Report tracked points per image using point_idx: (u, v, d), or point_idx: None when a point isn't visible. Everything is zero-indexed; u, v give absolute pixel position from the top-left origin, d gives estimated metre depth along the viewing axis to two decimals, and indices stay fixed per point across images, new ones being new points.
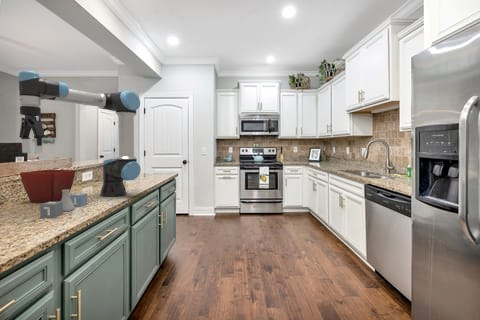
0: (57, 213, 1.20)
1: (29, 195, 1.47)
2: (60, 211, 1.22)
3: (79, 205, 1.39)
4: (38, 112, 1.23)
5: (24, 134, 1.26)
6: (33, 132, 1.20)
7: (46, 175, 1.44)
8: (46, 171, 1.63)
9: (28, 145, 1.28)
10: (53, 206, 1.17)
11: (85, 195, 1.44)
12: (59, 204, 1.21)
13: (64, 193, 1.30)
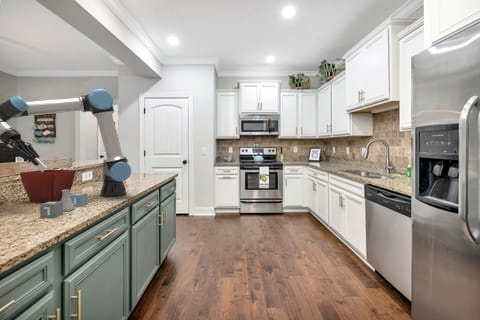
0: (57, 213, 1.20)
1: (29, 195, 1.47)
2: (60, 211, 1.22)
3: (79, 205, 1.39)
4: (9, 135, 1.25)
5: None
6: None
7: (46, 175, 1.44)
8: (46, 171, 1.63)
9: None
10: (53, 206, 1.17)
11: (85, 195, 1.44)
12: (59, 204, 1.21)
13: (64, 193, 1.30)
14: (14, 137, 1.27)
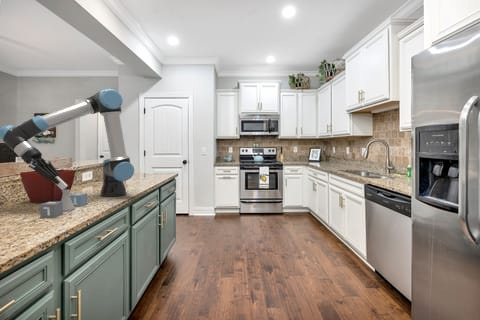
0: (57, 213, 1.20)
1: (29, 195, 1.47)
2: (60, 211, 1.22)
3: (79, 205, 1.39)
4: (30, 154, 1.26)
5: None
6: None
7: None
8: None
9: None
10: (53, 206, 1.17)
11: (85, 195, 1.44)
12: (59, 204, 1.21)
13: (64, 193, 1.30)
14: (36, 156, 1.29)
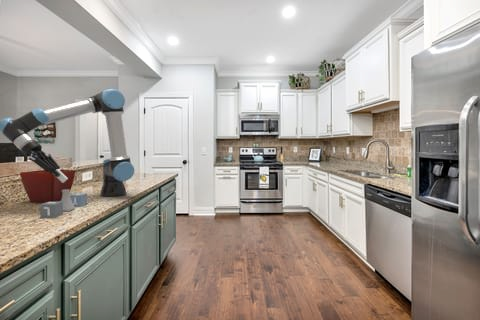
0: (57, 213, 1.20)
1: (29, 195, 1.47)
2: (60, 211, 1.22)
3: (79, 205, 1.39)
4: (30, 147, 1.26)
5: None
6: None
7: (46, 175, 1.44)
8: None
9: None
10: (53, 206, 1.17)
11: (85, 195, 1.44)
12: (59, 204, 1.21)
13: (64, 193, 1.30)
14: (36, 149, 1.29)
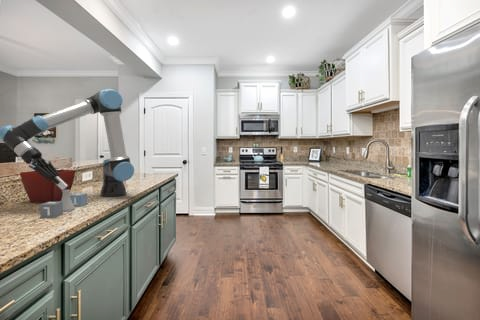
0: (57, 213, 1.20)
1: (29, 195, 1.47)
2: (60, 211, 1.22)
3: (79, 205, 1.39)
4: (30, 154, 1.26)
5: None
6: None
7: None
8: None
9: None
10: (53, 206, 1.17)
11: (85, 195, 1.44)
12: (59, 204, 1.21)
13: (64, 193, 1.30)
14: (36, 156, 1.29)
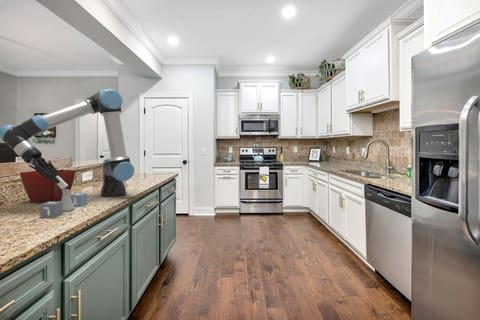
0: (57, 213, 1.20)
1: (29, 195, 1.47)
2: (60, 211, 1.22)
3: (79, 205, 1.39)
4: (30, 154, 1.26)
5: None
6: None
7: None
8: None
9: None
10: (53, 206, 1.17)
11: (85, 195, 1.44)
12: (59, 204, 1.21)
13: (64, 193, 1.30)
14: (36, 156, 1.29)
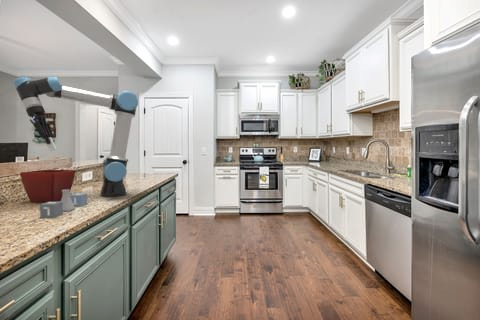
0: (57, 213, 1.20)
1: (29, 195, 1.47)
2: (60, 211, 1.22)
3: (79, 205, 1.39)
4: (35, 110, 1.37)
5: None
6: None
7: (46, 175, 1.44)
8: (46, 171, 1.63)
9: None
10: (52, 206, 1.17)
11: (85, 195, 1.44)
12: (59, 204, 1.21)
13: (64, 193, 1.30)
14: (39, 113, 1.40)
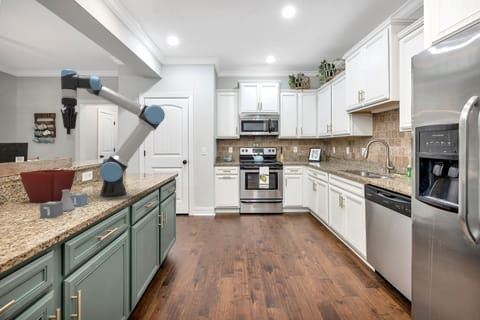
0: (57, 213, 1.20)
1: (29, 195, 1.47)
2: (60, 211, 1.22)
3: (79, 205, 1.39)
4: (69, 102, 1.48)
5: None
6: None
7: (46, 175, 1.44)
8: (46, 171, 1.63)
9: None
10: (53, 206, 1.17)
11: (85, 195, 1.44)
12: (59, 204, 1.21)
13: (64, 193, 1.30)
14: (71, 105, 1.51)
